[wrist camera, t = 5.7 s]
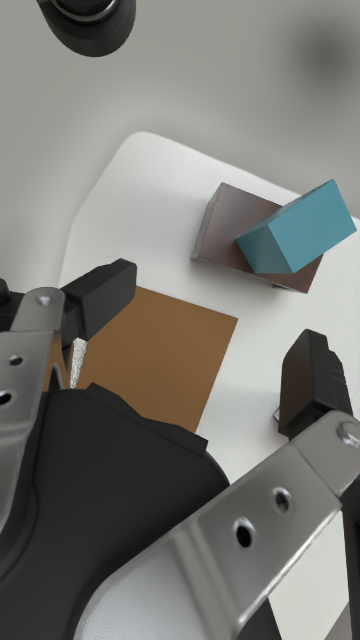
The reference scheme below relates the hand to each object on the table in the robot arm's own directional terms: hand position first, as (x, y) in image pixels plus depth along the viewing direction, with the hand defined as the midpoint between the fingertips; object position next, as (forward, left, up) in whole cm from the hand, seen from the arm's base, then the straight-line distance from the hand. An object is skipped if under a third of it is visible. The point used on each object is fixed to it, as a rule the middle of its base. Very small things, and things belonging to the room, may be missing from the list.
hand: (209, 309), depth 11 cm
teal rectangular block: (-2, +11, -16) cm, 19 cm away
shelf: (-2, +11, -23) cm, 25 cm away
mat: (+10, -7, -22) cm, 26 cm away
